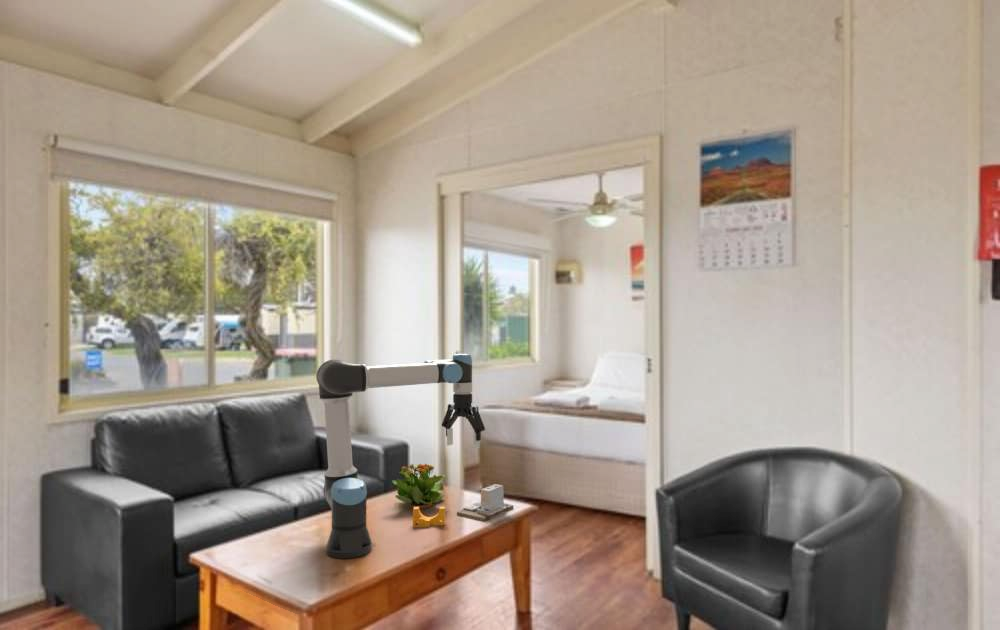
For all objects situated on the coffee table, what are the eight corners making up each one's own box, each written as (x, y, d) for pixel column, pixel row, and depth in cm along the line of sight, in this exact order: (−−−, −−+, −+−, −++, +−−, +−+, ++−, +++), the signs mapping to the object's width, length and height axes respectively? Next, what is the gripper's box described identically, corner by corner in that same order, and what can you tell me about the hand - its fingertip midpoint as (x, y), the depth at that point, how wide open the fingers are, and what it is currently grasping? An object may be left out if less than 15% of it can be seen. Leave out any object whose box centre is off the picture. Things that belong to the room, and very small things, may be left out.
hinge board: (484, 521, 239) (484, 515, 239) (456, 514, 247) (456, 509, 247) (513, 508, 255) (513, 502, 255) (486, 502, 263) (486, 497, 263)
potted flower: (452, 512, 250) (452, 469, 250) (394, 517, 244) (393, 474, 244) (442, 495, 274) (441, 456, 274) (388, 500, 268) (388, 460, 268)
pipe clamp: (412, 527, 233) (412, 510, 233) (414, 523, 238) (414, 506, 238) (444, 527, 233) (444, 510, 233) (445, 523, 238) (445, 506, 238)
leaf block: (488, 513, 244) (488, 490, 244) (481, 511, 246) (480, 489, 246) (503, 507, 252) (503, 485, 252) (495, 505, 254) (495, 483, 254)
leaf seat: (488, 515, 242) (488, 511, 242) (476, 512, 246) (476, 509, 246) (507, 507, 252) (507, 503, 253) (496, 504, 256) (496, 501, 256)
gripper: (432, 391, 246) (433, 444, 245) (481, 396, 231) (482, 452, 231) (445, 390, 252) (445, 441, 251) (493, 394, 237) (494, 448, 237)
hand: (463, 446), depth 241 cm, fingers open, 13 cm apart
